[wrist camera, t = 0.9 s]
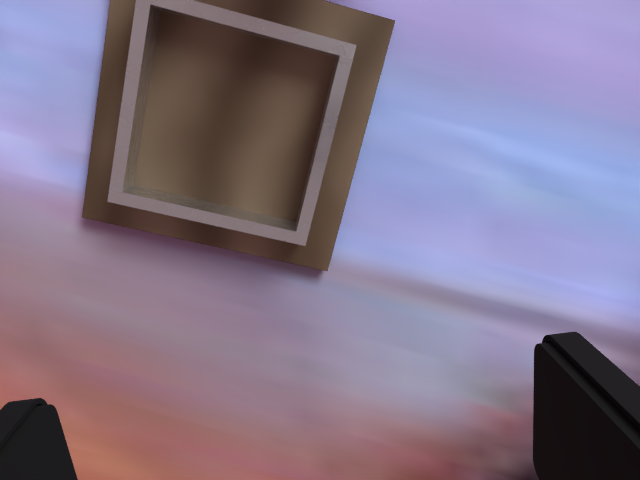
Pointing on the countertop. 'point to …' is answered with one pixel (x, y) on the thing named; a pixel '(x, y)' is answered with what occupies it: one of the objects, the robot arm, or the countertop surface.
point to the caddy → (234, 121)
